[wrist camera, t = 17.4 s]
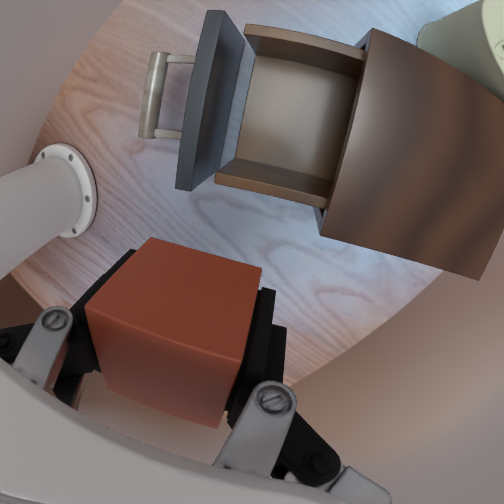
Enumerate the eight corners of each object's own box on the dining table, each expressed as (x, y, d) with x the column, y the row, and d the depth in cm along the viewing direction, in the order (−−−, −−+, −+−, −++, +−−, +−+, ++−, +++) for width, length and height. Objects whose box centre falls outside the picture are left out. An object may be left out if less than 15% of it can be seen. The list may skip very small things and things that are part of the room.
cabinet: (309, 193, 26) (319, 235, 17) (343, 57, 19) (372, 27, 10) (434, 232, 25) (478, 281, 17) (470, 116, 19) (532, 127, 10)
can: (400, 28, 16) (462, -12, 6) (461, 18, 13) (527, -4, 3) (440, 112, 19) (520, 122, 9) (495, 94, 17) (570, 103, 6)
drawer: (161, 159, 25) (116, 178, 18) (182, 36, 19) (141, 12, 12) (349, 200, 24) (371, 235, 18) (382, 74, 18) (419, 61, 12)
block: (149, 318, 12) (106, 389, 8) (150, 236, 10) (83, 305, 6) (239, 346, 12) (217, 429, 8) (262, 267, 10) (242, 361, 6)
